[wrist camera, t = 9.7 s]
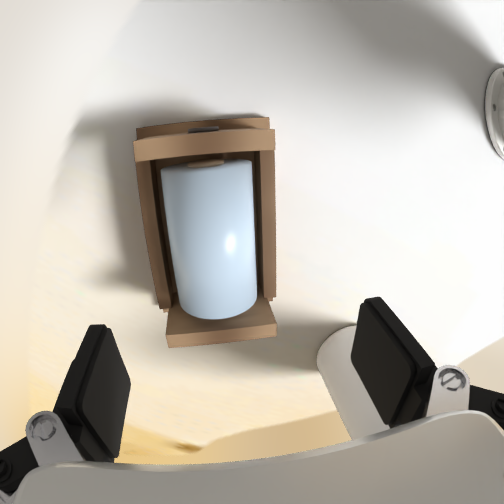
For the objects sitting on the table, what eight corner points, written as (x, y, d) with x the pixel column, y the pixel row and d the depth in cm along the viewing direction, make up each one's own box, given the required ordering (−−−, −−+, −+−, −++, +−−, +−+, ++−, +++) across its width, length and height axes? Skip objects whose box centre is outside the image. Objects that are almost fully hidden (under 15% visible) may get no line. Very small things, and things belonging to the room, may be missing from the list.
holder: (266, 117, 23) (291, 115, 16) (270, 295, 29) (289, 342, 23) (138, 128, 21) (115, 130, 15) (164, 306, 28) (158, 356, 22)
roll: (166, 161, 22) (153, 173, 17) (245, 154, 23) (258, 164, 17) (182, 283, 26) (177, 324, 21) (251, 276, 27) (262, 316, 21)
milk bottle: (301, 359, 33) (367, 516, 15) (350, 312, 32) (453, 461, 14) (339, 379, 36) (405, 509, 18) (384, 339, 35) (472, 463, 17)
